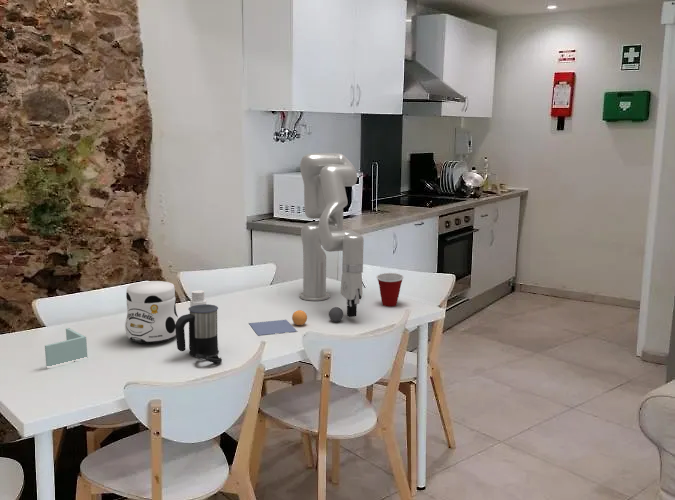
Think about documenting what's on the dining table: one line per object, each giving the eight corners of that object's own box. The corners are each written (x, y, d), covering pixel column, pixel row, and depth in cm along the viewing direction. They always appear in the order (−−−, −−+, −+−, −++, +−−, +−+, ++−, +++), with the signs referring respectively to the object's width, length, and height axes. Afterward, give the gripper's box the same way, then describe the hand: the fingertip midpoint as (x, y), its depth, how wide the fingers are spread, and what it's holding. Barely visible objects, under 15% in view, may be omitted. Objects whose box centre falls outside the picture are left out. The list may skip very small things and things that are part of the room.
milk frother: (203, 346, 211) (202, 302, 208) (241, 355, 203) (240, 310, 200) (171, 359, 199) (169, 312, 196) (210, 370, 191) (209, 321, 188)
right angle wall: (70, 350, 206) (68, 327, 205) (87, 360, 198) (86, 336, 197) (31, 360, 198) (29, 336, 196) (48, 370, 190) (46, 346, 188)
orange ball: (290, 323, 236) (290, 309, 235) (304, 322, 238) (304, 307, 237) (294, 327, 231) (294, 313, 230) (309, 326, 233) (309, 311, 232)
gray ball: (326, 319, 241) (326, 305, 240) (340, 318, 242) (340, 304, 241) (331, 324, 236) (331, 309, 235) (345, 322, 237) (345, 308, 236)
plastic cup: (371, 306, 259) (371, 277, 257) (382, 299, 269) (383, 271, 266) (396, 310, 254) (397, 280, 252) (406, 303, 264) (407, 274, 261)
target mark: (248, 323, 235) (248, 323, 235) (286, 320, 240) (286, 319, 240) (258, 335, 222) (258, 335, 222) (297, 331, 227) (297, 331, 227)
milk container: (124, 349, 207) (121, 294, 204) (126, 332, 223) (124, 281, 220) (180, 345, 212) (178, 291, 208) (178, 328, 228) (176, 279, 224)
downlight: (205, 321, 237) (205, 294, 236) (186, 320, 237) (185, 293, 236) (210, 315, 245) (209, 289, 243) (191, 315, 245) (191, 289, 244)
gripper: (335, 264, 243) (334, 311, 246) (351, 273, 229) (350, 322, 233) (353, 263, 245) (352, 309, 249) (370, 271, 232) (369, 320, 236)
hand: (351, 316), depth 241 cm, fingers closed
